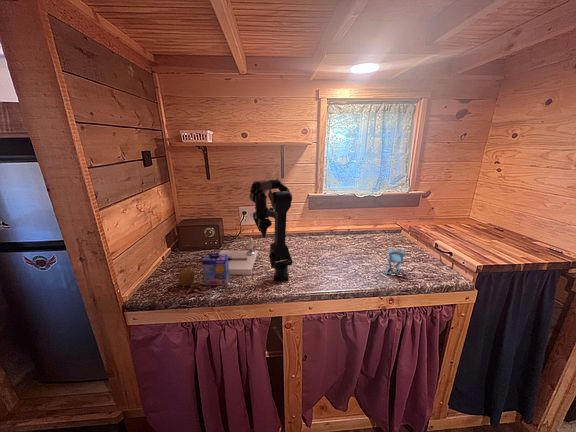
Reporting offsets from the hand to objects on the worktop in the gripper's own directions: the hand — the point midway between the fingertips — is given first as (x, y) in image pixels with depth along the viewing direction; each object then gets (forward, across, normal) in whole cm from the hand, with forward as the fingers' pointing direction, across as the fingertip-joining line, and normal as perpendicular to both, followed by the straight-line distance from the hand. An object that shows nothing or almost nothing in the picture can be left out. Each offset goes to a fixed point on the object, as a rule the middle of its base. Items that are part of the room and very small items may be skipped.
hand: (262, 234), depth 121 cm
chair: (+13, -37, -55) cm, 67 cm away
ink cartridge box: (+13, -18, +25) cm, 33 cm away
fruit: (+13, -17, +37) cm, 43 cm away
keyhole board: (+13, -4, +15) cm, 20 cm away
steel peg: (+10, -1, +7) cm, 12 cm away
